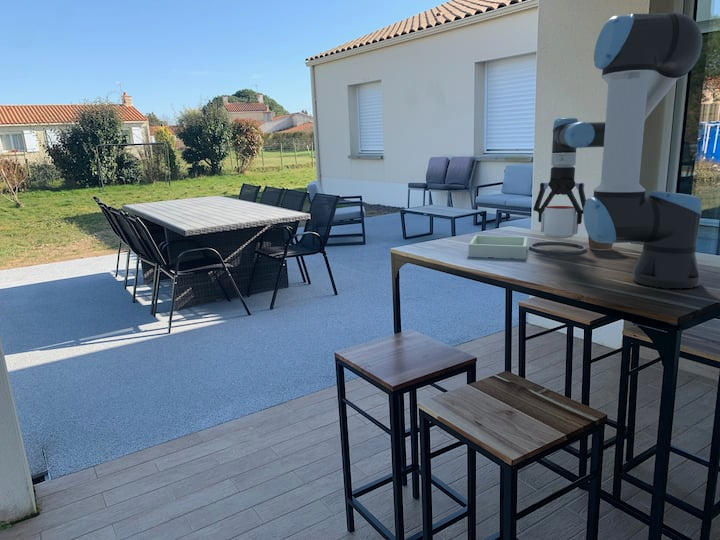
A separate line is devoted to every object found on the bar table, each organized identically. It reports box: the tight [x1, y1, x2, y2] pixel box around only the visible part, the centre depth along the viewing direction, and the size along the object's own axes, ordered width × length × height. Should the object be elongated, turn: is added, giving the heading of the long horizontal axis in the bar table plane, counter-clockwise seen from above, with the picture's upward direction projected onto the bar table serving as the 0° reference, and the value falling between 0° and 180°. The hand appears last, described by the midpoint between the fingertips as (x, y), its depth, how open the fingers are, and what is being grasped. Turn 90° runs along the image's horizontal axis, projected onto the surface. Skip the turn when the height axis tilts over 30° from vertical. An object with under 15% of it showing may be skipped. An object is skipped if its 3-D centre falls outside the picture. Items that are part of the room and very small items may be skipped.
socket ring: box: [528, 240, 588, 256], centre depth 177 cm, size 18×18×1 cm
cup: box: [542, 205, 577, 239], centre depth 175 cm, size 10×10×10 cm
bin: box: [468, 234, 528, 260], centre depth 173 cm, size 18×18×4 cm
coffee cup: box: [587, 234, 614, 251], centre depth 175 cm, size 10×10×12 cm
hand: (558, 232), depth 175 cm, fingers closed on cup, 10 cm apart
